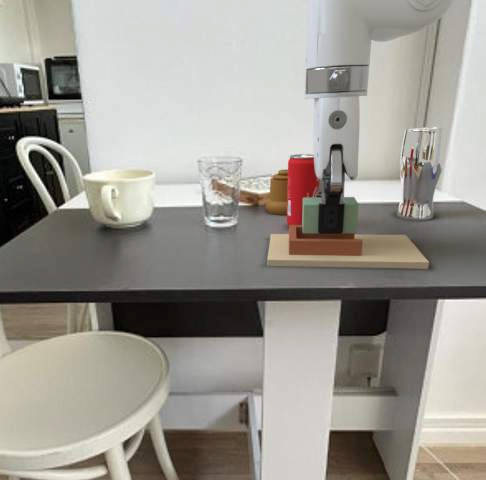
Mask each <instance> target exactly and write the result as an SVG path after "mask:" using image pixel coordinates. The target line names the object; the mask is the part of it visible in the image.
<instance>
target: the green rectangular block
mask: <svg viewBox="0 0 486 480" xmlns="http://www.w3.org/2000/svg"><path fill="white" fill-rule="evenodd" d="M319 203H321V197H316V198H303V211H302V229H303V233H319V232H318V216H319ZM344 203H345V207H344V223H343V232H342V233H355V234H357V232H358V220H359V219H358V218H359V206H360V205H359V202H358V201H357V199H356V198H355V196H344Z"/></svg>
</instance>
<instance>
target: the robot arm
mask: <svg viewBox="0 0 486 480" xmlns="http://www.w3.org/2000/svg"><path fill="white" fill-rule="evenodd" d="M453 2H454V0H307V5H306V6H307V9H306V45H305V47H306V48H305V79H304V81H305V82H304V85H305V86H304V100H308V99H311V100H312V99H314V100H313V128H312V129H313V133H312V134H313V135H312V139H313V141H312V143H313V146H312V147H313V148H312V149H313V154H314V167H315V173H316V176H317V178H318V179H319V187H318V195H317V197H321V203H319V216H318V232H319V233H320V234H341V233H342V232H343V223H344V207H345V203H344V197H345V184H346V183H345V182H346V181H345V179H346V176H347V177H348V178H349V180H350V181H354V180H357V178H358V174H359V172H358V171H359V151H360V150H359V148H360V146H359V145H360V125H361V124H360V123H361V122H360V121H361V120H360V119H361V117H360V116H361V112H360V110H361V108H360V97H366V96H368V88H369V78H370V77H369V76H370V65H371V64H370V62H371V50H372V41H374V42H378V43H380V42H381V43H384V42H389V41H392V40H395V39H398V38H401V37H406V36H410V35H412V34H415V33H418V32H421V31H424V30H426V29H428V28H429V27H431V26H433V25H434V24H435V23H436V22H438V21H439V20H440V19H441V18H442V17H443V16H444V15H445V14H446V13H447V12H448V10H449V9H450V8H451V6H452V4H453Z"/></svg>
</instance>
